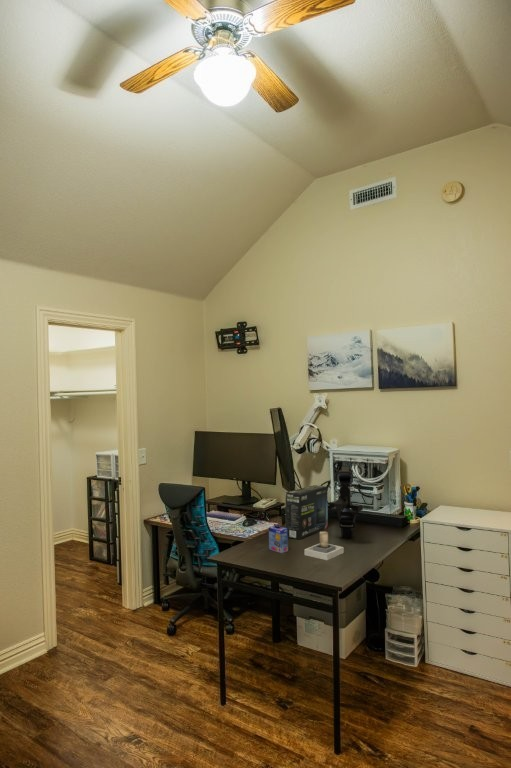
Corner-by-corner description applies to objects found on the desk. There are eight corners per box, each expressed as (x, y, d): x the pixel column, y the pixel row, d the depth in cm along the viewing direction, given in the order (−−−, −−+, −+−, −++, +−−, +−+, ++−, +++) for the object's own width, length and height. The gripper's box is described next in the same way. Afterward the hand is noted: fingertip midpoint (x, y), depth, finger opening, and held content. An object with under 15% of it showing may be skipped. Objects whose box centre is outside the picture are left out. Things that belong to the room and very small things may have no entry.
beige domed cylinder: (318, 551, 253) (318, 532, 254) (325, 550, 255) (325, 531, 256) (322, 553, 249) (322, 534, 250) (330, 552, 251) (329, 533, 252)
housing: (304, 555, 251) (304, 547, 251) (321, 548, 263) (321, 540, 263) (327, 560, 241) (327, 552, 242) (343, 552, 253) (343, 545, 254)
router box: (300, 540, 279) (299, 494, 280) (284, 537, 285) (283, 492, 287) (329, 527, 308) (328, 485, 309) (314, 525, 314) (313, 484, 316)
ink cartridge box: (268, 549, 261) (267, 522, 262) (275, 547, 265) (274, 521, 266) (281, 553, 254) (281, 525, 255) (288, 551, 258) (288, 523, 259)
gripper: (323, 493, 269) (323, 522, 268) (352, 497, 256) (353, 527, 256) (334, 491, 277) (334, 518, 276) (362, 494, 265) (363, 523, 264)
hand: (346, 521), depth 268 cm, fingers open, 9 cm apart
